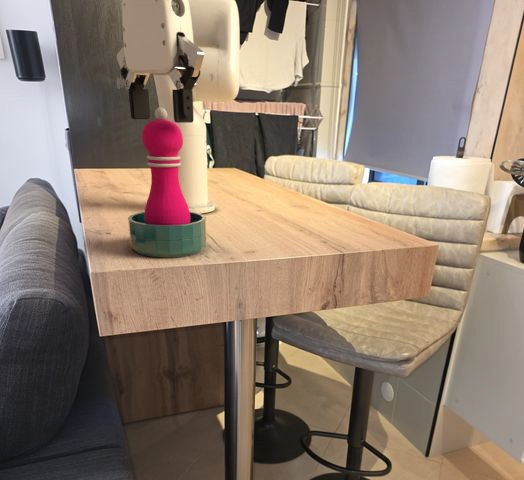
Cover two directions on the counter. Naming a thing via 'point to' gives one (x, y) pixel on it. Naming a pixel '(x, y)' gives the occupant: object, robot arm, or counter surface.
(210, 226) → the counter surface
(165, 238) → the bowl
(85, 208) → the counter surface
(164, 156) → the pepper mill
